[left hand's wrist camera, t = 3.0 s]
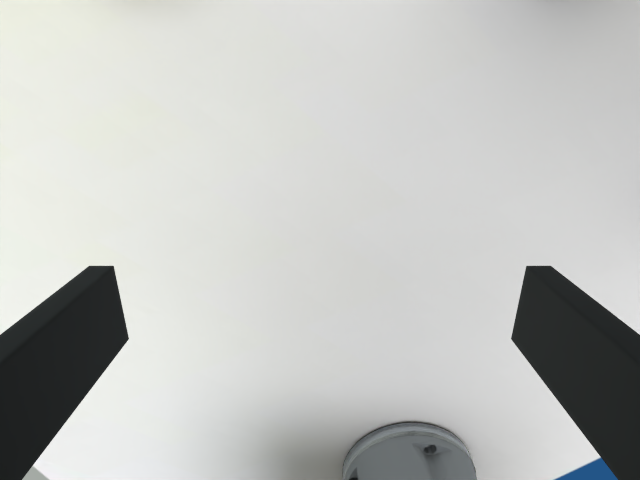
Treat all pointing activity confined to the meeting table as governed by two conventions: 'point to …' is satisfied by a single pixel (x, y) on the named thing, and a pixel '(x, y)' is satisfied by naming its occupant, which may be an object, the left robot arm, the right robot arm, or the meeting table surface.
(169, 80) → the meeting table surface
